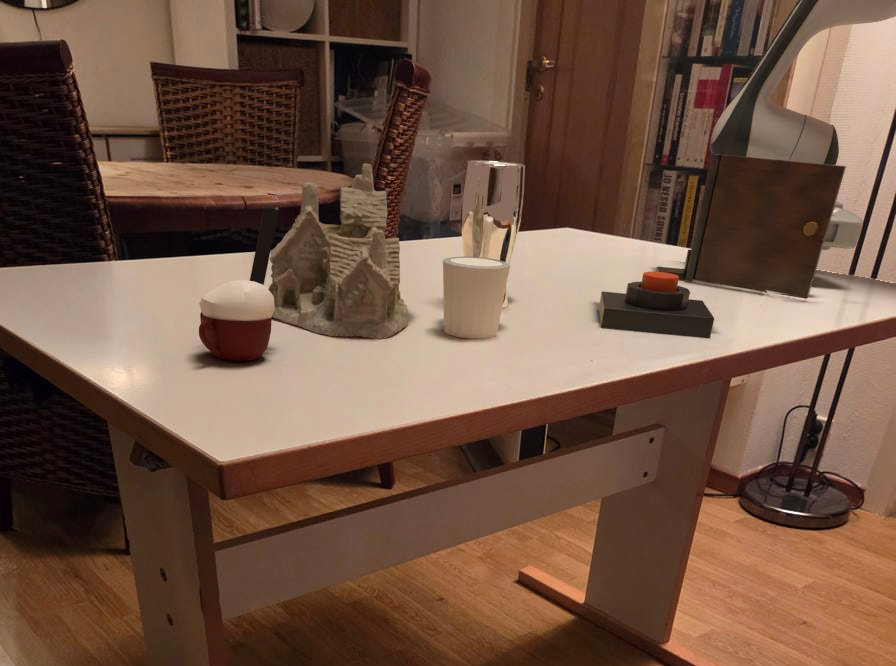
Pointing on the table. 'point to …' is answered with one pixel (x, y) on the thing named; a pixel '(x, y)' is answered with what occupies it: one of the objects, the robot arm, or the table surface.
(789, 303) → the table surface
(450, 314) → the white cup
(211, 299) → the cocoa
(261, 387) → the table surface
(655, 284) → the button
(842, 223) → the robot arm
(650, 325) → the buzzer
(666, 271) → the gray angle bracket
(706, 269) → the door
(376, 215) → the ceramic cottage
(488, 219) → the beer glass
